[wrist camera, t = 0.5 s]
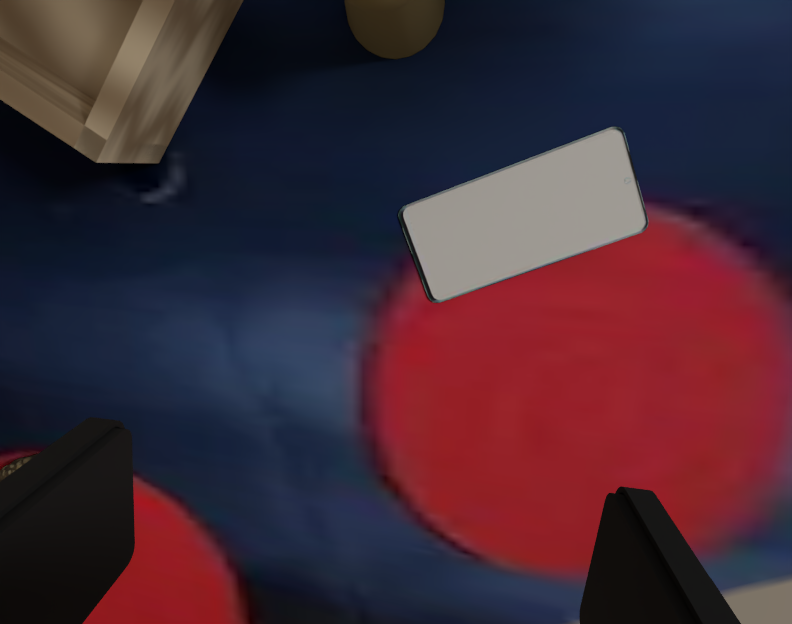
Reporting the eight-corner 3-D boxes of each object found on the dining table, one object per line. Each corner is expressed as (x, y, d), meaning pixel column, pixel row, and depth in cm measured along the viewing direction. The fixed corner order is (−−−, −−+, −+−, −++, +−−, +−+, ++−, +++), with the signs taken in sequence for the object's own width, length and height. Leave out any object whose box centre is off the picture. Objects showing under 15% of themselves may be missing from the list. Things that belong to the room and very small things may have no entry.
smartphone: (395, 209, 36) (621, 123, 34) (395, 208, 37) (619, 123, 34) (431, 306, 38) (651, 229, 35) (431, 304, 38) (648, 228, 36)
